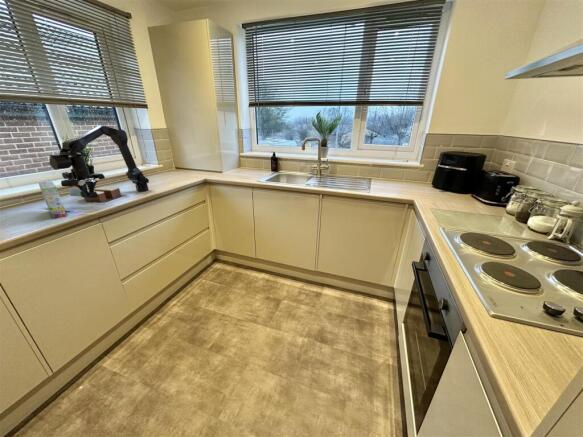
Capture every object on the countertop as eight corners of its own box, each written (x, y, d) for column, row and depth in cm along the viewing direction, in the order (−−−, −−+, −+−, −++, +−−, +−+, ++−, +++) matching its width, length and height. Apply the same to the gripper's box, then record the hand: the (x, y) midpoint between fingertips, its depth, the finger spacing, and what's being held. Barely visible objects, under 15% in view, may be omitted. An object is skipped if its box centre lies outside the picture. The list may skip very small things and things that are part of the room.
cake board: (128, 196, 149) (127, 194, 149) (105, 204, 135) (104, 202, 135) (102, 195, 153) (101, 193, 153) (76, 202, 139) (76, 201, 139)
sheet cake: (121, 195, 149) (118, 187, 147) (112, 197, 144) (110, 189, 142) (105, 194, 151) (103, 186, 149) (96, 197, 146) (93, 189, 144)
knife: (98, 196, 129) (95, 189, 127) (93, 198, 127) (91, 191, 125) (73, 195, 132) (70, 188, 131) (68, 196, 130) (65, 189, 129)
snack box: (68, 215, 119) (56, 186, 114) (53, 219, 115) (40, 188, 110) (62, 206, 133) (51, 180, 127) (48, 209, 129) (36, 182, 123)
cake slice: (106, 199, 140) (103, 191, 138) (100, 201, 137) (97, 193, 135) (91, 198, 143) (88, 190, 141) (85, 200, 140) (82, 192, 138)
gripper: (84, 163, 133) (94, 190, 138) (46, 169, 116) (59, 199, 122) (101, 163, 130) (109, 191, 136) (64, 169, 113) (76, 201, 119)
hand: (89, 195), depth 128 cm, fingers closed on knife, 2 cm apart
